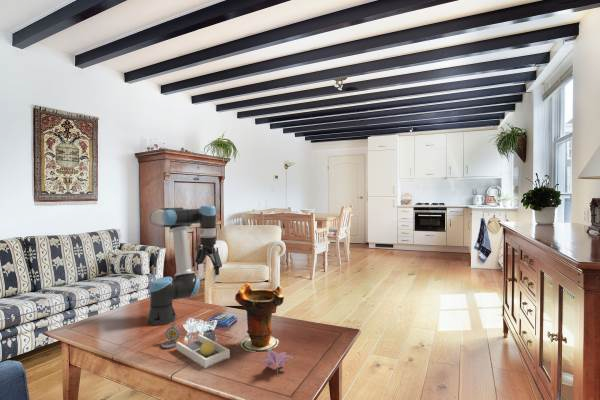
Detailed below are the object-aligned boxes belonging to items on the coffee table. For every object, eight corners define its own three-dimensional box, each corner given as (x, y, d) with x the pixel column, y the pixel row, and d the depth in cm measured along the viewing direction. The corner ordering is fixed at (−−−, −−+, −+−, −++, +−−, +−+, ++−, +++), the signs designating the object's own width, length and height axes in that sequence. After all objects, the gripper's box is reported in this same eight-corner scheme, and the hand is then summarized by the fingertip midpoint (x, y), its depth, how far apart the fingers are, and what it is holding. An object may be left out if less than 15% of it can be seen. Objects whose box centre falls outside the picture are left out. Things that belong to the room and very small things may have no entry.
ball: (197, 355, 146) (197, 341, 146) (209, 350, 150) (209, 337, 150) (205, 360, 142) (205, 346, 142) (217, 355, 146) (217, 341, 146)
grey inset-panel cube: (203, 340, 163) (203, 331, 162) (210, 337, 166) (210, 329, 165) (208, 342, 160) (208, 334, 160) (215, 339, 163) (215, 331, 163)
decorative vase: (286, 352, 149) (283, 290, 149) (235, 356, 148) (231, 293, 147) (285, 332, 170) (282, 278, 170) (240, 336, 169) (237, 281, 168)
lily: (297, 373, 135) (293, 347, 139) (286, 375, 125) (282, 347, 129) (270, 378, 138) (268, 353, 142) (258, 380, 128) (255, 353, 132)
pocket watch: (162, 350, 152) (162, 328, 152) (160, 343, 159) (160, 322, 159) (181, 346, 156) (181, 325, 155) (178, 339, 163) (178, 319, 163)
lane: (176, 349, 152) (176, 342, 152) (199, 341, 161) (199, 334, 161) (205, 368, 136) (205, 360, 136) (229, 357, 145) (229, 349, 145)
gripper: (188, 235, 172) (188, 276, 172) (215, 239, 155) (216, 285, 155) (201, 233, 177) (201, 273, 177) (229, 238, 160) (229, 282, 161)
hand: (208, 279), depth 166 cm, fingers open, 13 cm apart
